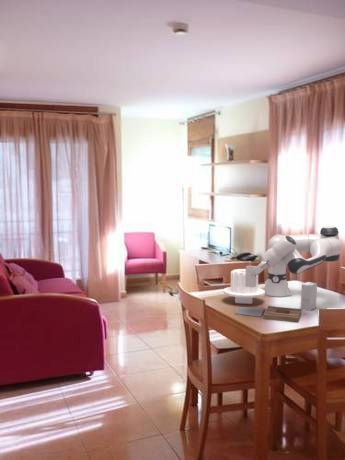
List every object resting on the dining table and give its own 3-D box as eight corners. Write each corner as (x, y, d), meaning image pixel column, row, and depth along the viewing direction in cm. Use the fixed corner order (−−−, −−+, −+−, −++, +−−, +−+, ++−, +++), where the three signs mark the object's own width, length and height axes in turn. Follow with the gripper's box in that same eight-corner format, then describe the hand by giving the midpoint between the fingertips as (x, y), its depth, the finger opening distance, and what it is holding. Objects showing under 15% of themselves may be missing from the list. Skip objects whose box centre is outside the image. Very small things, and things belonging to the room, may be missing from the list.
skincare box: (306, 306, 257) (307, 281, 255) (316, 308, 252) (317, 282, 251) (300, 309, 250) (301, 283, 249) (310, 311, 246) (311, 285, 245)
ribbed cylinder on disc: (264, 308, 252) (265, 275, 251) (221, 305, 257) (222, 274, 256) (264, 297, 277) (265, 268, 275) (225, 295, 282) (225, 266, 280)
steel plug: (247, 284, 245) (247, 265, 244) (256, 285, 244) (256, 266, 243) (245, 286, 241) (245, 266, 240) (254, 287, 239) (254, 267, 238)
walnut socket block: (268, 310, 248) (268, 305, 248) (301, 313, 241) (301, 309, 241) (263, 318, 231) (263, 314, 231) (298, 322, 225) (298, 317, 224)
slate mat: (240, 307, 253) (240, 306, 253) (264, 310, 248) (264, 309, 248) (234, 314, 240) (234, 313, 240) (260, 316, 235) (260, 315, 235)
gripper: (270, 266, 227) (251, 283, 231) (276, 260, 246) (258, 276, 250) (262, 257, 228) (243, 274, 232) (268, 252, 247) (251, 268, 251)
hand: (251, 275), depth 242 cm, fingers closed on steel plug, 5 cm apart
